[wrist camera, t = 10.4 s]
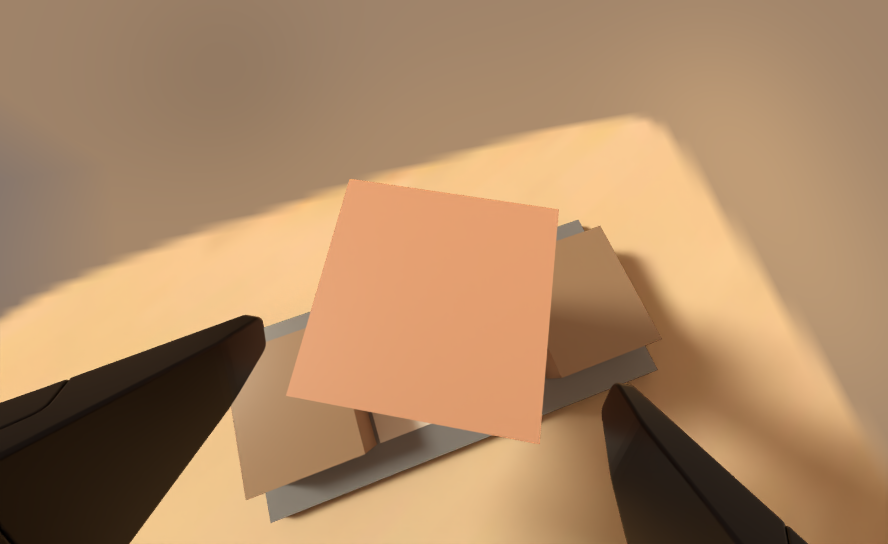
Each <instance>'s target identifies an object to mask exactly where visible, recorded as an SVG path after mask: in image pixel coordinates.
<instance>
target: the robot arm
mask: <svg viewBox="0 0 888 544" xmlns="http://www.w3.org/2000/svg"><path fill="white" fill-rule="evenodd" d="M265 347H266V339H265V332H264V325H263V321H262V319H261V318H260V317H256V316H250V315H243V316H240V317H237V318H234V319H232V320H229V321H226V322H223V323H221V324H218V325H215V326H212V327H210V328H207V329H204V330H201V331H199V332H196V333H193V334H190V335H188V336H185V337H182V338H179V339H177V340H174V341H171V342H168V343H166V344H163V345H160V346H157V347H155V348H152V349H149V350H146V351H144V352H141V353H138V354H135V355H133V356H130V357H127V358H124V359H121V360H119V361H116V362H113V363H110V364H108V365H105V366H102V367H99V368H97V369H94V370H91V371H88V372H86V373H83V374H80V375H77V376H75V377H72V378H70V380H63V381H61V382H58V383H55V384H52V385H50V386H47V387H44V388H41V389H39V390H36V391H33V392H30V393H27V394H24V395H21V396H19V397H16V398H13V399H10V400H7V401H4V402H1V403H0V544H130V542H131V541H132V540H133V538H134V537H135V535H136V534H137V533H138V531H139V530H140V529H141V527H142V526H143V525H144V523H145V522H146V521H147V519H148V518H149V516H150V515H151V514H152V512H153V511H154V510H155V508H156V507H157V506H158V504H159V503H160V502H161V500H162V499H163V498H164V496H165V495H166V493H167V492H168V491H169V489H170V488H171V487H172V485H173V484H174V483H175V481H176V480H177V479H178V477H179V476H180V474H181V473H182V472H183V470H184V469H185V468H186V466H187V465H188V464H189V462H190V461H191V460H192V458H193V457H194V455H195V454H196V453H197V451H198V450H199V449H200V447H201V446H202V445H203V443H204V442H205V441H206V439H207V438H208V436H209V435H210V434H211V432H212V431H213V430H214V428H215V427H216V426H217V424H218V423H219V422H220V420H221V419H222V417H223V416H224V415H225V413H226V412H227V411H228V409H229V408H230V406H231V405H232V404H233V402H234V401H235V399H236V397H237V396H238V394H239V393H240V391H241V389H242V388H243V386H244V384H245V382H246V381H247V379H248V377H249V376H250V374H251V372H252V371H253V369H254V367H255V366H256V364H257V362H258V361H259V359H260V357H261V356H262V354H263V352H264V350H265ZM602 421H603V428H604V435H605V442H606V449H607V456H608V463H609V470H610V475H611V481H612V485H613V489H614V493H615V497H616V501H617V505H618V509H619V513H620V517H621V521H622V525H623V529H624V533H625V537H626V541H627V544H808V543H807V542H806V541H804V540H803V539H802V538H801V537H800V536H799V535H798V534H797V533H796V532H795V531H793V530H792V529H791V528H790V527H788V526H785V523H784V522H783V521H782V520H781V519H780V518H779V517H778V516H777V515H776V514H774V513H773V512H772V511H771V510H770V509H769V508H768V507H767V506H766V505H764V504H763V503H762V502H761V501H760V500H759V499H758V498H757V497H756V496H755V495H753V494H752V493H751V492H750V491H749V490H748V489H747V488H746V487H745V486H743V485H742V484H741V483H740V482H739V481H738V480H737V479H736V478H735V477H734V476H732V475H731V474H730V473H729V472H728V471H727V470H726V469H725V468H724V467H722V466H721V465H720V464H719V463H718V462H717V461H716V460H715V459H714V458H712V457H711V456H710V455H709V454H708V453H707V452H706V451H705V450H704V449H703V448H701V447H700V446H699V445H698V444H697V443H696V442H695V441H694V440H693V439H691V438H690V437H689V436H688V435H687V434H686V433H685V432H684V431H683V430H682V429H680V428H679V427H678V426H677V425H676V424H675V423H674V422H673V421H672V420H670V419H669V418H668V417H667V416H666V415H665V414H664V413H663V412H662V411H661V410H659V409H658V408H657V407H656V406H655V405H654V404H653V403H652V402H651V401H649V400H648V399H647V398H646V397H645V396H644V395H643V394H642V393H641V392H639V391H638V390H637V389H636V388H635V387H634V386H632V385H628V384H622V383H614V384H613V385H612V387H611V389H610V391H609V393H608V396H607V398H606V400H605V402H604V404H603V407H602Z"/></svg>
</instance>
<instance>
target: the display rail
mask: <svg viewBox="0 0 888 544" xmlns="http://www.w3.org/2000/svg"><path fill="white" fill-rule="evenodd" d="M309 315H310V312H308V313H305V314H302V315H299V316H296V317H293V318H291V319H288V320H285V321H282V322H279V323H276V324H273V325H270V326H267V327H264V332H265V339H266V347H265V350H264V352H263V354H262V356H261V357H260V359H259V361H258V362H257V364H256V366H255V367H254V369H253V371H252V372H251V374H250V376H249V377H248V379H247V381H246V382H245V384H244V386H243V388H242V389H241V391H240V393H239V394H238V396H237V397H236V399H235V401H234V402H233V404H232V405H231V409H232V415H233V422H234V428H235V434H236V441H237V447H238V453H239V460H240V466H241V472H242V479H243V485H244V491H245V498H246V500H248V499H251V498H253V497H256V496H258V495H261V494H264V493H266V498H267V504H268V510H269V516H270V521H271V523H272V522H275V521H277V520H280V519H282V518H285V517H287V516H290V515H292V514H295V513H297V512H300V511H302V510H305V509H307V508H310V507H313V506H315V505H318V504H320V503H323V502H325V501H328V500H330V499H333V498H335V497H338V496H340V495H343V494H345V493H348V492H350V491H353V490H355V489H358V488H360V487H363V486H366V485H368V484H371V483H373V482H376V481H378V480H381V479H383V478H386V477H388V476H391V475H393V474H396V473H398V472H401V471H403V470H406V469H408V468H411V467H413V466H416V465H419V464H421V463H424V462H426V461H429V460H431V459H434V458H436V457H439V456H441V455H444V454H446V453H449V452H451V451H454V450H456V449H459V448H461V447H464V446H466V445H469V444H472V443H474V442H477V441H479V440H482V439H484V438H487V437H489V436H492V435H489V434H484V433H478V432H473V431H468V430H463V429H457V428H452V427H447V426H442V425H436V424H431V423H426V422H421V421H415V420H410V419H405V418H400V417H394V416H389V415H384V414H379V413H373V412H368V411H363V410H358V409H352V408H347V407H342V406H337V405H331V404H326V403H321V402H316V401H310V400H305V399H300V398H295V397H289V396H286V394H287V390H288V387H289V383H290V380H291V377H292V373H293V370H294V366H295V363H296V360H297V356H298V353H299V349H300V346H301V343H302V339H303V336H304V332H305V329H306V326H307V322H308V319H309ZM661 339H662V338H661V336H660V334H659V332H658V331H657V329H656V327H655V325H654V323H653V321H652V320H651V318H650V316H649V314H648V312H647V310H646V309H645V307H644V305H643V303H642V301H641V299H640V298H639V296H638V294H637V292H636V290H635V288H634V287H633V285H632V283H631V281H630V279H629V278H628V276H627V274H626V272H625V270H624V268H623V267H622V265H621V263H620V261H619V259H618V257H617V256H616V254H615V252H614V250H613V248H612V246H611V245H610V243H609V241H608V239H607V237H606V235H605V234H604V232H603V230H602V228H601V226H598V227H595V228H592V229H590V230H587V231H584V229H583V228H582V226H581V224H580V222H579V220H576V221H573V222H570V223H567V224H564V225H561V226H558V227H557V237H556V249H555V261H554V273H553V285H552V297H551V310H550V322H549V334H548V346H547V358H546V370H545V383H544V395H543V407H542V415H545V414H547V413H550V412H552V411H555V410H557V409H560V408H562V407H565V406H567V405H570V404H572V403H575V402H578V401H580V400H583V399H585V398H588V397H590V396H593V395H595V394H598V393H600V392H603V391H605V390H608V389H610V388H611V387H612V385H613V384H614V383H622V384H623V383H626V382H628V381H631V380H633V379H636V378H638V377H641V376H643V375H646V374H648V373H651V372H653V371H656V370H658V369H657V368H656V366H655V364H654V362H653V360H652V358H651V356H650V354H649V352H648V350H647V349H646V347H645V345H648V344H651V343H653V342H656V341H658V340H661Z"/></svg>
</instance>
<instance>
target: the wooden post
mask: <svg viewBox="0 0 888 544" xmlns="http://www.w3.org/2000/svg"><path fill="white" fill-rule="evenodd" d="M558 212H559V209H552V208H545V207H538V206H532V205H525V204H518V203H511V202H504V201H498V200H491V199H484V198H477V197H470V196H464V195H457V194H450V193H443V192H436V191H429V190H423V189H416V188H409V187H402V186H395V185H389V184H382V183H375V182H368V181H361V180H355V179H350V180H349V183H348V186H347V190H346V193H345V196H344V200H343V203H342V207H341V210H340V213H339V217H338V220H337V224H336V227H335V230H334V234H333V237H332V241H331V244H330V247H329V251H328V254H327V258H326V261H325V264H324V268H323V271H322V275H321V278H320V281H319V285H318V288H317V292H316V295H315V298H314V302H313V305H312V309H311V312H310V315H309V319H308V322H307V326H306V329H305V332H304V336H303V339H302V343H301V346H300V349H299V353H298V356H297V360H296V363H295V366H294V370H293V373H292V377H291V380H290V383H289V387H288V390H287V394H286V396H289V397H295V398H300V399H305V400H310V401H316V402H321V403H326V404H331V405H337V406H342V407H347V408H352V409H358V410H363V411H368V412H373V413H379V414H384V415H389V416H394V417H400V418H405V419H410V420H415V421H421V422H426V423H431V424H436V425H442V426H447V427H452V428H457V429H463V430H468V431H473V432H478V433H484V434H489V435H494V436H499V437H505V438H510V439H515V440H520V441H526V442H531V443H536V444H539V443H540V431H541V419H542V407H543V395H544V383H545V370H546V358H547V346H548V334H549V322H550V310H551V297H552V285H553V273H554V261H555V249H556V237H557V225H558Z"/></svg>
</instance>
